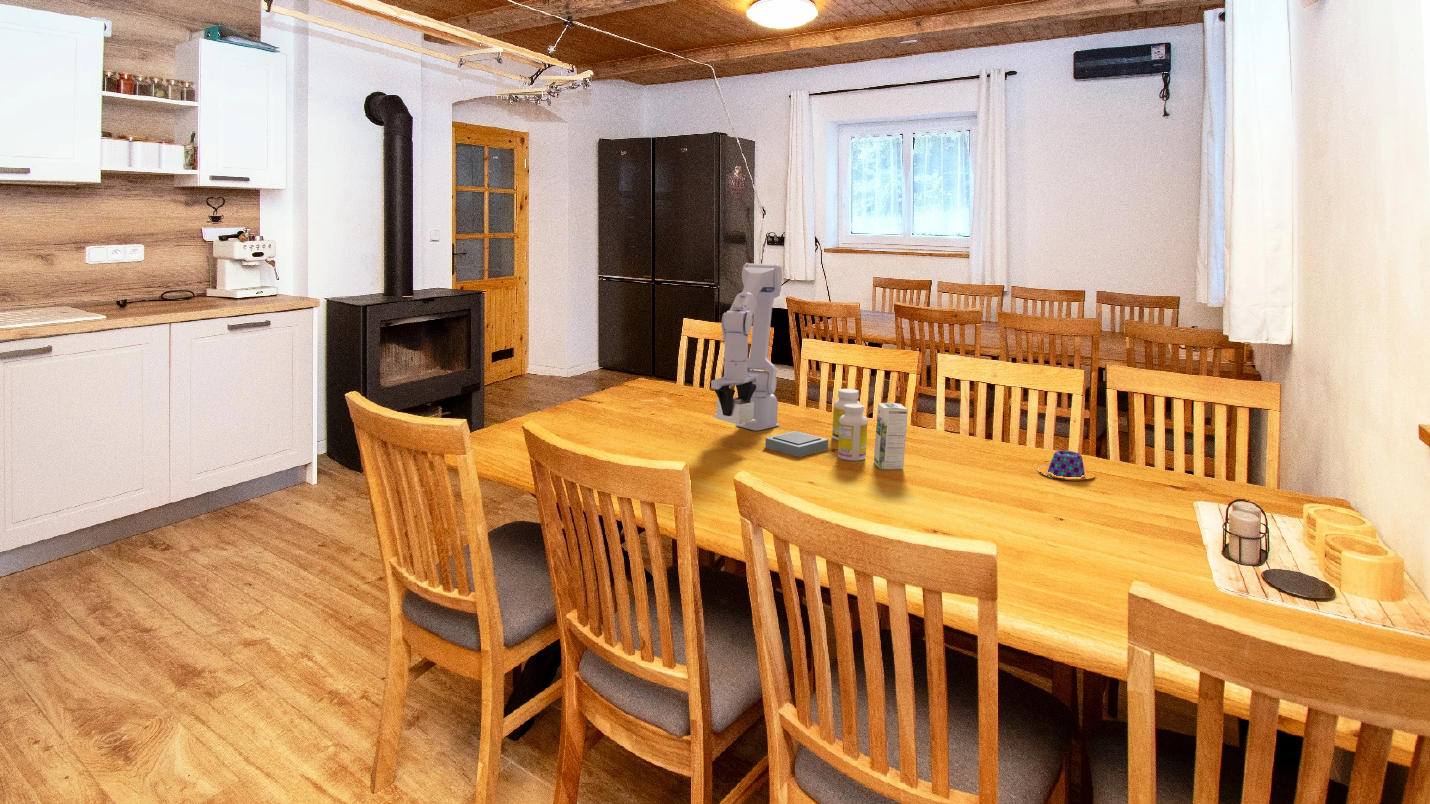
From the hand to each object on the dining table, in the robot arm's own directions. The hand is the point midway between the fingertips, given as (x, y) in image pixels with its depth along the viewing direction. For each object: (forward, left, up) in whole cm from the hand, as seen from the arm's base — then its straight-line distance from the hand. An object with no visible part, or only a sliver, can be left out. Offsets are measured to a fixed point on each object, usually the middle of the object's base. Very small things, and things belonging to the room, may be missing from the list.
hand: (734, 413), depth 209 cm
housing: (0, 0, -2) cm, 2 cm away
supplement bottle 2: (-14, +26, -8) cm, 31 cm away
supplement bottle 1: (-27, +14, -8) cm, 32 cm away
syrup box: (-15, +36, -8) cm, 40 cm away
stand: (-10, +12, -8) cm, 18 cm away
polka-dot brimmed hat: (-41, +66, -9) cm, 78 cm away
